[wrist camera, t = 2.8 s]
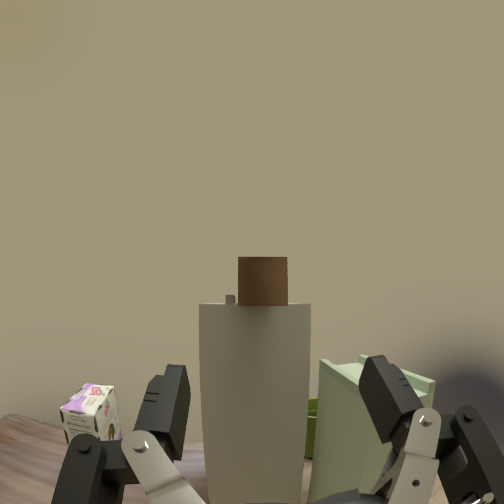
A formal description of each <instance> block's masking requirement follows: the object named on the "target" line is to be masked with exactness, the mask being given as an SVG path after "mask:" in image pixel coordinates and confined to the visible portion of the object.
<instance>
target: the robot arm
mask: <svg viewBox="0 0 504 504" xmlns="http://www.w3.org/2000/svg"><path fill="white" fill-rule="evenodd" d="M358 386H359V392H360V394H361V396H362V399H363V401H364V403H365V405H366V408H367V410H368V412H369V415H370V417H371V419H372V422H373V424H374V426H375V429H376V431H377V433H378V436H379V438H380V440H381V443H382V444H385V443H388V442H391V443H392V447H391V449H390V451H389V454H388V456H387V459H386V462H385V464H384V467H383V469H382V471H381V474H380V476H379V478H378V480H377V482H376V484H375V485H374V487H373V488H372V490H371V491H370V493H369V494H365V493H359V490H358V488H356V489H353V490H348V491H344V492H340V493H335V494H331V495H329V496H327V497H324V498H322V499H319V500H317V501H314V502H312V503H309V504H428V502H429V499H430V496H431V493H432V489H433V486H434V482H435V478H436V474H437V473H438V475H439V478H440V481H441V483H442V486H443V488H444V491H445V494H446V497H447V499H448V502H449V504H504V456H503V454H502V452H501V450H500V449H499V447H498V445H497V443H496V442H495V440H494V438H493V436H492V434H491V433H490V431H489V429H488V427H487V426H486V424H485V422H484V421H483V419H482V418H481V416H480V414H479V413H478V411H477V410H476V409H475V408H473V407H472V406H468V405H464V406H461V407H460V408H458V410H457V411H456V412H455V414H447V415H439V414H438V412H437V411H435V410H434V409H431V408H425V407H424V405H423V404H422V402H421V401H420V399H419V397H418V396H417V394H416V392H415V391H414V389H413V388H412V386H411V385H410V383H409V381H408V380H407V379H406V377H405V375H404V374H403V372H402V370H401V369H399V368H398V367H397V366H395V365H394V364H389V362H388V361H387V359H386V358H385V356H384V355H379V356H372V357H368V358H367V359H366V361H365V364H364V367H363V370H362V373H361V376H360V379H359V384H358ZM190 395H191V393H190V386H189V381H188V376H187V371H186V367H185V365H170V364H168V365H167V367H166V371H165V374H164V376H163V375H156V376H155V377H154V378H153V379H152V380H151V381H150V382H149V384H148V387H147V390H146V394H145V396H144V399H143V402H142V405H141V408H140V411H139V414H138V418H137V421H136V424H135V427H134V429H133V431H132V432H130V433H128V434H127V435H126V436H125V437H124V438H123V439H120V440H109V441H99V440H98V438H97V437H95V436H94V435H92V434H88V433H82V434H78V435H76V436H75V437H74V438H73V439H72V440H71V442H70V444H69V447H68V450H67V453H66V456H65V459H64V462H63V465H62V468H61V471H60V474H59V477H58V481H57V484H56V488H55V491H54V495H53V499H52V502H51V504H122V499H123V493H124V486H125V485H126V484H141V485H142V487H143V488H144V490H145V492H146V495H147V497H148V499H149V501H150V502H151V504H206V503H205V502H204V501H203V500H202V499H201V497H200V496H199V495H198V494H197V493H196V491H195V490H194V489H193V488H192V487H191V485H190V484H189V483H188V482H187V480H186V479H185V478H183V477H182V475H181V474H180V473H179V472H178V470H177V469H176V467H175V466H174V465H173V462H174V460H179V461H181V458H182V451H183V444H184V438H185V431H186V424H187V418H188V412H189V406H190V398H191V396H190ZM460 445H461V447H462V449H463V451H464V453H465V455H466V457H467V460H468V464H466V462H465V459H464V457H463V455H462V453H461V451H460V449H459V446H460ZM246 504H288V503H278V502H269V503H246Z"/></svg>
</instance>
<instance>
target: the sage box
mask: <svg viewBox="0 0 504 504" xmlns="http://www.w3.org/2000/svg"><path fill="white" fill-rule="evenodd" d="M367 358H368V356H366V355H359V362H358V363H352V364H343V365H334V364H332V363H331V362H329V361H328V360H326V359H320V366H319V367H320V368H319V391H318V406H317V421H316V433H315V444H314V454H313V463H312V471H311V479H310V487H309V494H308V501H307V504H309V503H312V502H314V501H317V500H319V499H322V498H324V497H327V496H329V495H331V494H335V493H340V492H344V491H348V490H353V489H356V488H358V490H359V493H365V494H369V493H370V491H371V490H372V488H373V487H374V485H375V484H376V482H377V480H378V478H379V476H380V474H381V471H382V469H383V467H384V464H385V462H386V459H387V456H388V454H389V451H390V449H391V447H392V443H391V442H388V443H385V444H382V443H381V440H380V438H379V436H378V433H377V431H376V429H375V426H374V424H373V422H372V419H371V417H370V415H369V412H368V410H367V408H366V405H365V403H364V401H363V399H362V396H361V394H360V392H359V386H358V384H359V379H360V376H361V373H362V370H363V367H364V364H365V361H366V359H367ZM399 369H400V368H399ZM401 370H402V372H403V374H404V375H405V377H406V379H407V380H408V381H409V383H410V385H411V386H412V388H413V389H414V391H415V392H416V394H417V396H418V397H419V399H420V401H421V402H422V404H423V405H424V407H425V408H432V402H433V396H434V389H435V381H434V380H431V379H428V378H425V377H422V376H420V375H417V374H414V373H411V372H408V371H406V370H403V369H401Z"/></svg>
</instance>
